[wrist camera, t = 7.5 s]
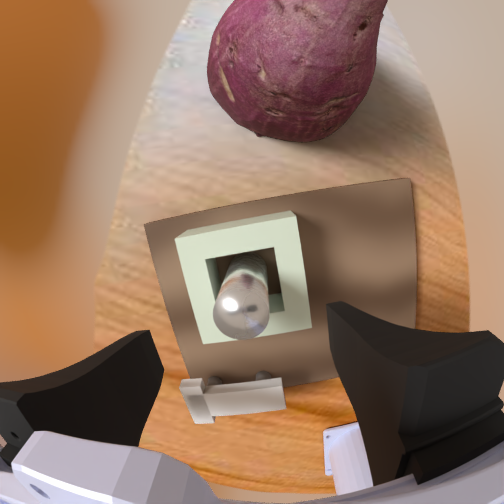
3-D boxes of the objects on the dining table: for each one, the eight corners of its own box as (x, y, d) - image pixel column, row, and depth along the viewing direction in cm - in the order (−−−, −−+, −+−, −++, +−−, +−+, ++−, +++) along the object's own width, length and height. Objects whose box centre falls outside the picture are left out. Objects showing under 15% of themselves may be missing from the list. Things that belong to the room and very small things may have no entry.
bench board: (407, 355, 23) (426, 380, 19) (200, 393, 24) (192, 423, 20) (403, 178, 19) (431, 179, 15) (149, 222, 21) (125, 232, 17)
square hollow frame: (305, 308, 21) (312, 327, 18) (210, 323, 21) (203, 344, 18) (290, 210, 19) (296, 216, 16) (186, 230, 20) (174, 238, 17)
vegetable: (323, 39, 20) (424, -71, 5) (351, 147, 21) (519, 78, 6) (198, 35, 18) (226, -127, 3) (211, 156, 19) (272, -13, 4)
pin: (271, 282, 20) (275, 332, 13) (235, 292, 21) (223, 345, 14) (260, 247, 20) (260, 282, 13) (223, 257, 20) (204, 297, 13)
